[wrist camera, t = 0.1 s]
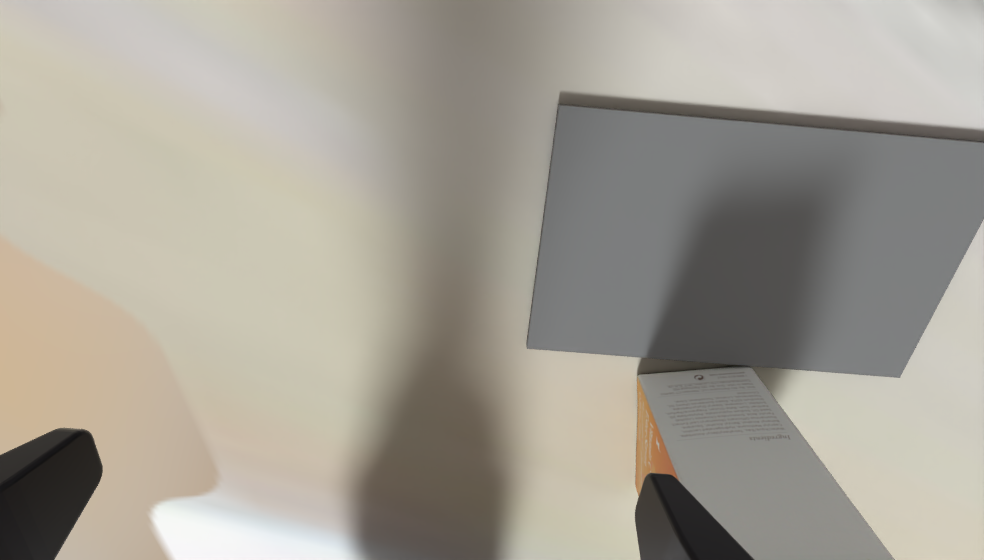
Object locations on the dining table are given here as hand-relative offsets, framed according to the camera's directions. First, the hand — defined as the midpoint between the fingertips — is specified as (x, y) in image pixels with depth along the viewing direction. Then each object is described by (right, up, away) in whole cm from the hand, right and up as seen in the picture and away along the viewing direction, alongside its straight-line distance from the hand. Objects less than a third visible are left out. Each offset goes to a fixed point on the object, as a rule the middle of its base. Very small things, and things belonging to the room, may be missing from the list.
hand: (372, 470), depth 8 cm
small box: (+12, -5, +19) cm, 23 cm away
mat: (+13, +4, +14) cm, 20 cm away
